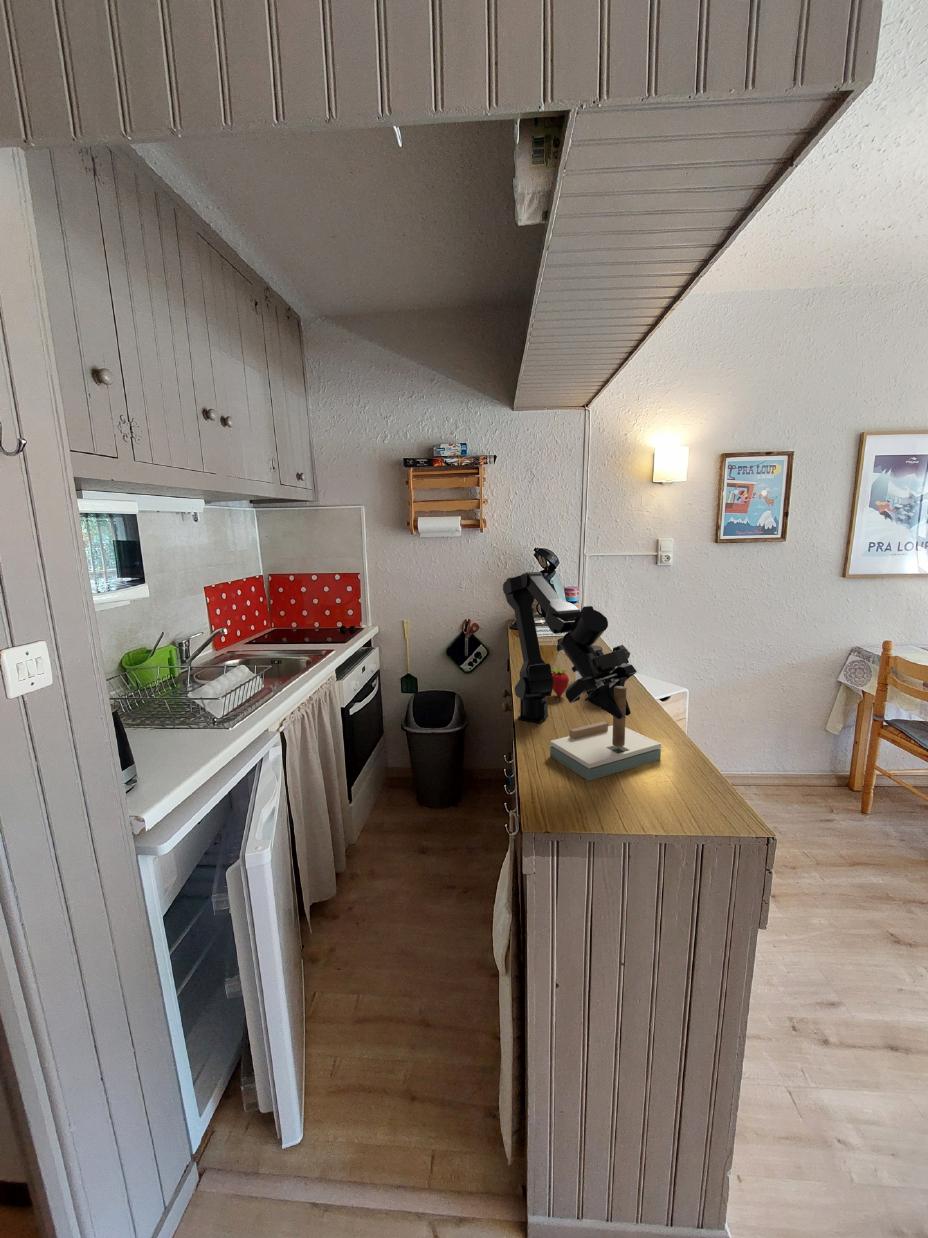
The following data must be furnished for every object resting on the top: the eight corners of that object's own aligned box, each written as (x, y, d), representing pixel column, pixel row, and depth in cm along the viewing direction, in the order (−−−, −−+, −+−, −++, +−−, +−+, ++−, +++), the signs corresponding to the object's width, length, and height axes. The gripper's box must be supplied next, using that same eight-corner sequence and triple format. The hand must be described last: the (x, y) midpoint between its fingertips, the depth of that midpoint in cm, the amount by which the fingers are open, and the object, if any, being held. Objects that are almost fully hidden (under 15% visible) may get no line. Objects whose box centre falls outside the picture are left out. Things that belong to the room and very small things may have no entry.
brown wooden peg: (609, 743, 107) (611, 687, 105) (618, 740, 108) (620, 685, 106) (618, 747, 105) (620, 690, 103) (627, 745, 106) (629, 688, 104)
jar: (599, 678, 170) (600, 644, 168) (605, 686, 162) (606, 650, 160) (572, 679, 170) (573, 644, 168) (578, 686, 162) (578, 650, 160)
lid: (550, 745, 112) (550, 733, 111) (618, 727, 120) (618, 716, 120) (588, 768, 100) (589, 755, 100) (660, 747, 109) (661, 735, 108)
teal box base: (550, 756, 112) (550, 746, 112) (617, 738, 121) (618, 729, 120) (588, 781, 101) (588, 770, 100) (660, 759, 109) (660, 749, 109)
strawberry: (550, 700, 149) (550, 668, 147) (547, 692, 156) (547, 661, 155) (570, 700, 149) (571, 668, 147) (566, 692, 156) (566, 661, 154)
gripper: (577, 641, 100) (624, 708, 93) (630, 628, 111) (675, 686, 105) (547, 671, 107) (588, 735, 100) (599, 656, 119) (640, 712, 112)
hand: (625, 716), depth 104 cm, fingers closed on brown wooden peg, 2 cm apart
